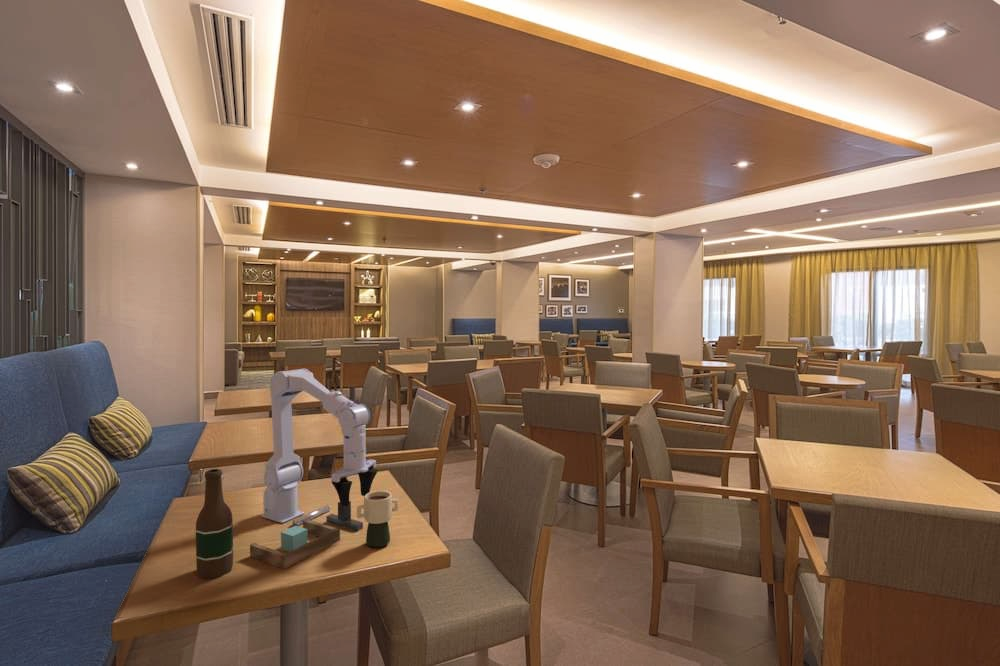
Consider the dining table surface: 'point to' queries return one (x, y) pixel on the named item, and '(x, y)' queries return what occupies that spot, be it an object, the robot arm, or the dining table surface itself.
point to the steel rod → (311, 515)
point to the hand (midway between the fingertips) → (355, 500)
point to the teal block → (293, 538)
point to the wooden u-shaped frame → (284, 561)
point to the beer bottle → (214, 531)
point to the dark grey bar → (344, 518)
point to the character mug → (377, 516)
